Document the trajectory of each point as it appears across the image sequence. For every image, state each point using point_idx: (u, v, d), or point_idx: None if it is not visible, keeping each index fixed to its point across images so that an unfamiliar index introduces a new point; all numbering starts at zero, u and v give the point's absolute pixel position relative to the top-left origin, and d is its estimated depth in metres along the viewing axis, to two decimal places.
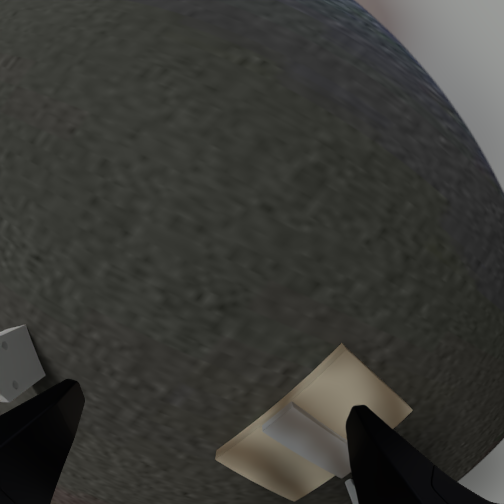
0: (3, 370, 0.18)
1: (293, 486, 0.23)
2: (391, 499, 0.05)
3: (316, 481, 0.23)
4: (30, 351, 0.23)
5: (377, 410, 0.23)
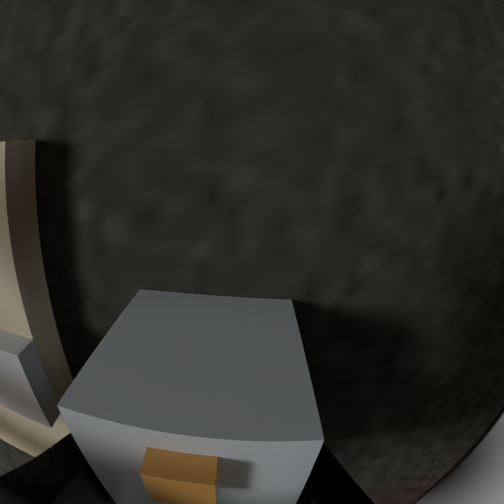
0: None
1: None
2: None
3: None
4: None
5: None
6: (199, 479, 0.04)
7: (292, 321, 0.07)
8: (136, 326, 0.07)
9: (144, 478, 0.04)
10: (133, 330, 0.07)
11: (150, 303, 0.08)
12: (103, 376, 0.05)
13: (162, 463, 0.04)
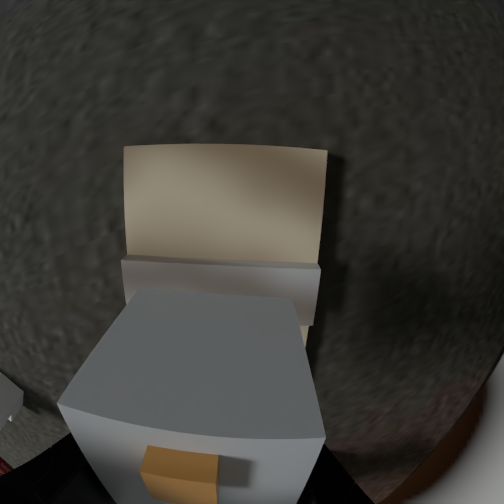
0: None
1: None
2: None
3: None
4: (1, 379, 0.22)
5: (256, 186, 0.16)
6: (199, 477, 0.04)
7: (293, 319, 0.07)
8: (136, 324, 0.07)
9: (144, 476, 0.03)
10: (133, 328, 0.06)
11: (150, 301, 0.08)
12: (103, 374, 0.05)
13: (162, 461, 0.04)
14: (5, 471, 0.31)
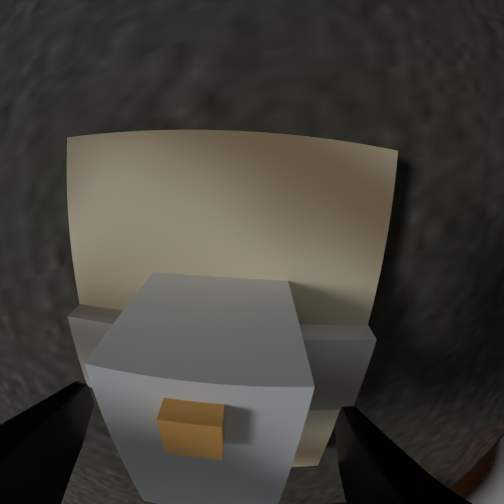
0: None
1: None
2: (378, 502, 0.05)
3: (315, 426, 0.12)
4: None
5: (282, 206, 0.09)
6: (208, 422, 0.05)
7: (288, 297, 0.09)
8: (152, 301, 0.08)
9: (160, 424, 0.05)
10: (149, 304, 0.08)
11: (163, 283, 0.09)
12: (125, 339, 0.06)
13: (177, 410, 0.05)
14: None
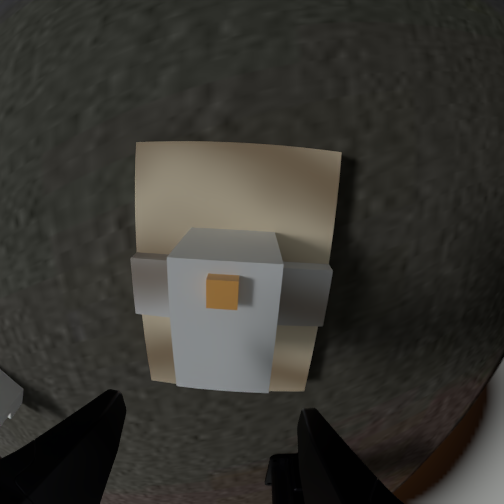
0: None
1: (274, 370, 0.19)
2: None
3: (299, 348, 0.19)
4: (0, 376, 0.22)
5: (270, 186, 0.15)
6: (232, 280, 0.11)
7: (274, 237, 0.15)
8: (195, 237, 0.14)
9: (207, 282, 0.11)
10: (194, 238, 0.14)
11: (199, 231, 0.15)
12: (186, 249, 0.12)
13: (215, 276, 0.11)
14: None
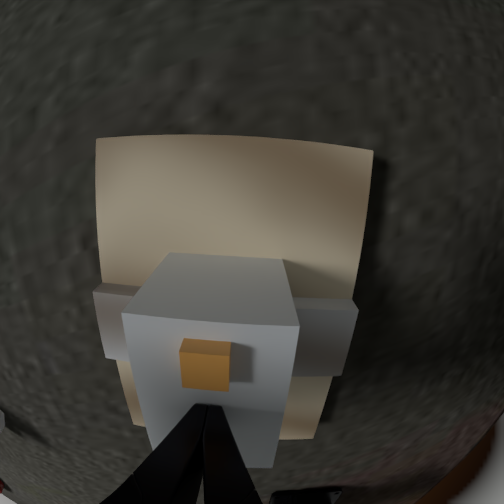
0: None
1: None
2: None
3: (309, 396, 0.14)
4: None
5: (276, 197, 0.11)
6: (219, 353, 0.07)
7: (282, 270, 0.11)
8: (171, 271, 0.10)
9: (181, 356, 0.07)
10: (169, 273, 0.10)
11: (178, 259, 0.11)
12: (152, 296, 0.08)
13: (194, 345, 0.07)
14: None
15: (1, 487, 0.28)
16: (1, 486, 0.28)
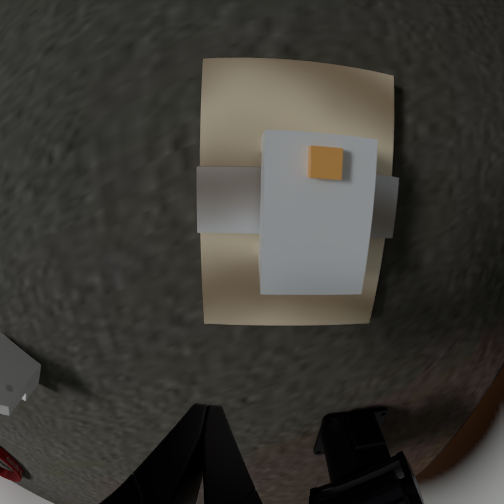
0: None
1: (341, 298, 0.18)
2: None
3: (366, 269, 0.18)
4: (15, 351, 0.21)
5: (336, 100, 0.15)
6: (336, 147, 0.10)
7: None
8: None
9: (313, 148, 0.10)
10: None
11: None
12: None
13: (318, 145, 0.11)
14: (11, 466, 0.31)
15: (20, 474, 0.33)
16: (20, 472, 0.33)
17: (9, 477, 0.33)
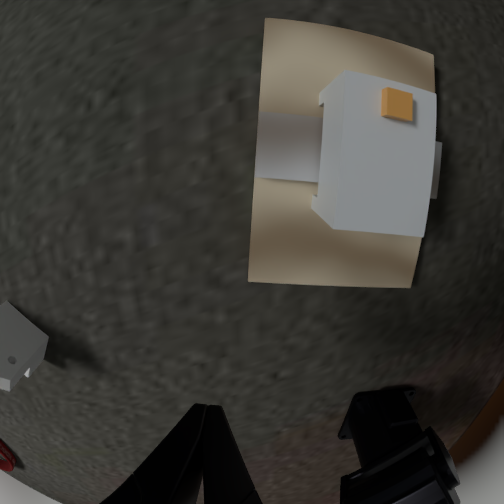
0: None
1: (387, 258, 0.18)
2: None
3: None
4: (20, 321, 0.21)
5: (386, 68, 0.14)
6: (406, 92, 0.10)
7: None
8: None
9: (389, 89, 0.10)
10: None
11: None
12: None
13: None
14: (4, 454, 0.29)
15: (13, 463, 0.31)
16: (13, 461, 0.31)
17: (1, 466, 0.31)
